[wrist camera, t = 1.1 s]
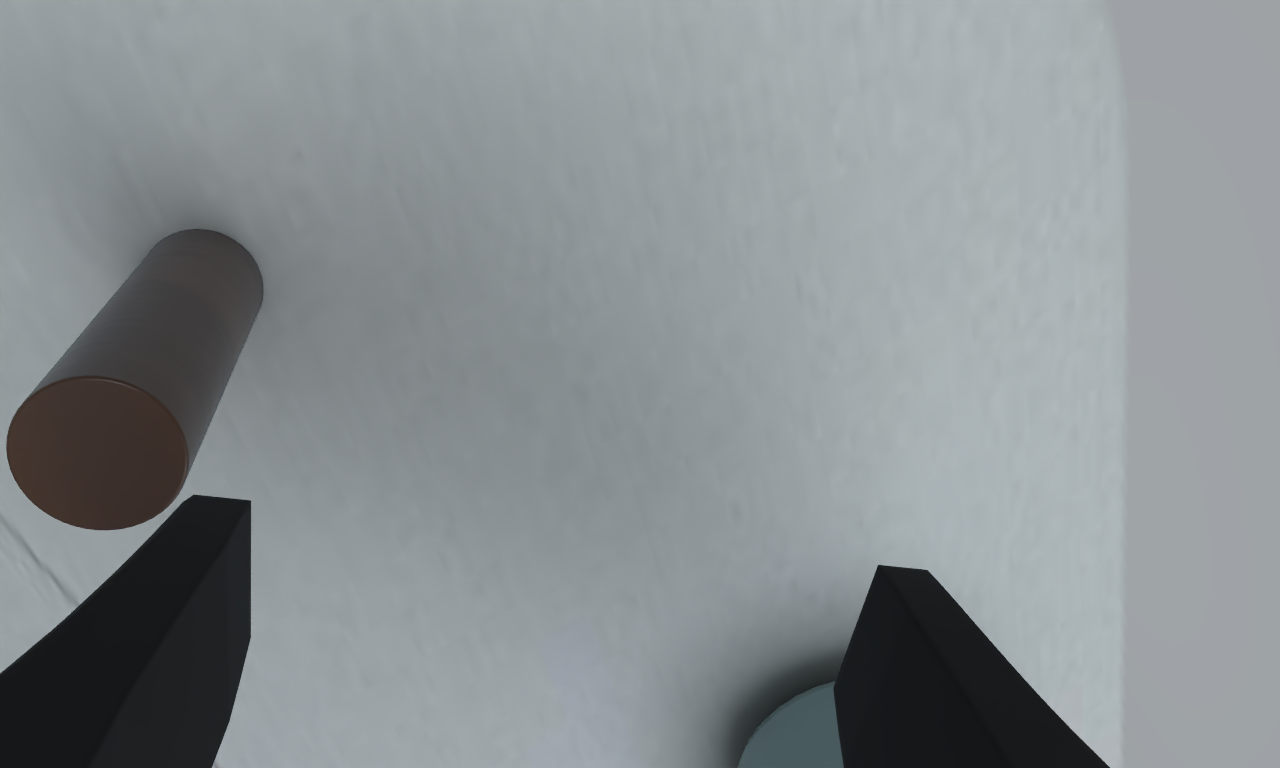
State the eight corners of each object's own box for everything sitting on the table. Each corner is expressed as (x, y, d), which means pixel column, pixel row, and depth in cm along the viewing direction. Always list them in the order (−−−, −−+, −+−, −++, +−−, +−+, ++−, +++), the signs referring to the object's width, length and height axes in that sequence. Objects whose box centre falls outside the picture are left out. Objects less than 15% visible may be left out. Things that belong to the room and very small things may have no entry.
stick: (167, 354, 26) (49, 550, 18) (122, 246, 25) (-27, 403, 17) (280, 323, 26) (213, 505, 18) (239, 215, 25) (149, 356, 17)
